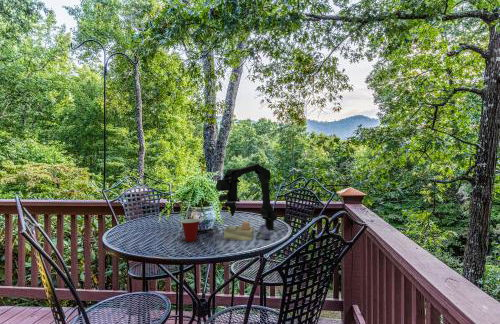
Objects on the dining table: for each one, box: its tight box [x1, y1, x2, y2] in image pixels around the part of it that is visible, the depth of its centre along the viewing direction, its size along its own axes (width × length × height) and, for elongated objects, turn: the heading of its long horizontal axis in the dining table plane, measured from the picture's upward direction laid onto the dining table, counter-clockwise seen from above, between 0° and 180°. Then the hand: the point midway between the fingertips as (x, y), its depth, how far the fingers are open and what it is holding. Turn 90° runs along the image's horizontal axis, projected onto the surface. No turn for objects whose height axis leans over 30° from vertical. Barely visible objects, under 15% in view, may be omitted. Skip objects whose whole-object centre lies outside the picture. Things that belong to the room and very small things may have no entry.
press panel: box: [223, 225, 255, 241], centre depth 187 cm, size 12×16×5 cm
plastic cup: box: [180, 218, 201, 243], centre depth 180 cm, size 11×11×12 cm
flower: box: [255, 223, 272, 240], centre depth 183 cm, size 9×9×10 cm
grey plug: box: [229, 225, 236, 230], centre depth 187 cm, size 4×4×5 cm
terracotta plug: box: [241, 221, 251, 230], centre depth 186 cm, size 4×4×5 cm
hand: (232, 215), depth 187 cm, fingers closed
